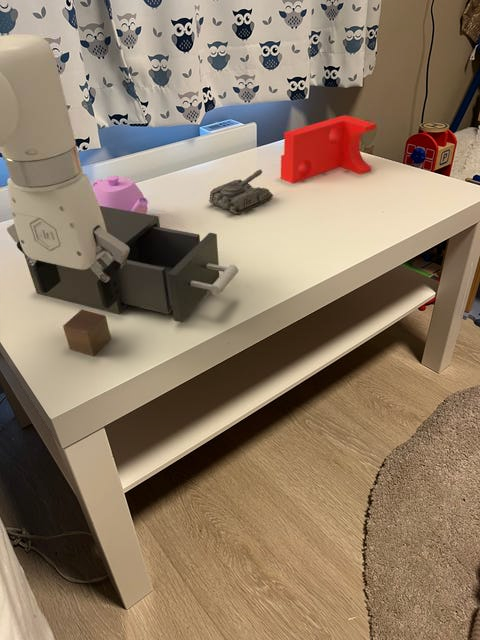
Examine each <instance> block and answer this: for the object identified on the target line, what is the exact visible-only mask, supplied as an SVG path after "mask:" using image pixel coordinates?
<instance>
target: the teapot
mask: <svg viewBox="0 0 480 640" xmlns="http://www.w3.org/2000/svg"><path fill="white" fill-rule="evenodd" d="M92 188H93V191H94V193H95V196H96V198H97V201H98V204H99V206H103V207H109V208H114V209H120V210H126V211H132V212H137V213H143V214H148V210H149V209H148V204H149V201H148V199H147V198H146V197H145V196H144V194H143V192H142V190H141V189H140V188H139V187H138V185H137V184H136V183H135V182H134V181H133V180H132V179H129V178H126V177H122V176H118V175H109V176H107V177H106V179H101V178H98V179H95V180H94V181H93V183H92Z"/></svg>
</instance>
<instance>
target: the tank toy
mask: <svg viewBox="0 0 480 640" xmlns="http://www.w3.org/2000/svg"><path fill="white" fill-rule="evenodd" d="M262 173H263V171H262V169H258V170H256V171H255V172H253V173H252V174H251V175H249V176H248V177H247V178H246V179H244V180H242V179H234V180H232V181H229V182H226V183H224V184H222V185H219V186H217V187H213V189H212V190H211V191H210V192H209V199H208V202H209V204H211V205H213V206H216V207H221V208H222V209H225V210H229V211H230V212H231V213H232V214H234V215H241V214H243V213H244V212H247V211H249V210H251V209H253V208H255V207H257V206H260V205H261V204H264V203H265V202H267V201H270V200H271V199H272V198H273V197H274V194H273V193H272V192H271V191H270V189H268V188H266V187H260V186H259V187H254V186H252V185H251V184H249V183H250V182H253V180H254V179H256V178H259V176H261V175H262Z"/></svg>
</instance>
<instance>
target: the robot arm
mask: <svg viewBox="0 0 480 640" xmlns="http://www.w3.org/2000/svg"><path fill="white" fill-rule="evenodd" d="M0 150H1V155H2V160H3V161H4V163H5V165H6V168H7V173H8V175H9V177H8V179H7V180H6V181H7V194H8V202H9V206H10V211H11V216H12V219H13V222H14V223H13V224H11V225H9V226H8V227H7V228H6V231H7V233H8V234H9V236H10V237H11V238H12V240H13V241H14V243H16V247H17V249H18V250H19V251H20V252H21V253H22V254H23V255H24V257H25V256H26V257H27V259H25V261H26V260H27V262H28V263H29V264H30V265H32V266H33V265H34V267H33V269H34V272H35V275H36V278H37V280H38V283H39V286H40V289H41V292H44V293H47V292H49V291H50V290H51V289H52V288H53V287H55V286H56V285H57V284H58V283H60V281H61V279H60V275H59V272H58V269H57V266H56V265H61V266H65V267H70V268H75V269H81V270H84V269H88V268H89V267H90V268H91V269H92V271H93V272H94V273H95V274H96V275H97V276H98V277H99V278H100V279H99V280H98V281H97V285H98V289H99V293H100V297H101V301H102V304H103V306H104V308H110V307H111V306H112V305H113V304H114V303H115V302H116V301H117V300H118V299H119V298H120V297H121V295H122V293H121V288H120V284H119V279H118V275H117V272H119V271H120V270H121V268H122V267H123V266H124V265H125V264H126V260H127V257H128V254H129V251H130V249H129V247H128V246H127V245H126V244H124V243H123V242H121V241H120V240H118V239H117V238H115V237H114V236H112V235H111V234H109V233H108V232H107V230H106V227H105V223H104V219H103V216H102V213H101V210H100V207H99V204H98V201H97V198H96V196H95V193H94V191H93V185H92V184H91V182H90V179H89V177H88V175H87V174H86V173H84V172H83V171H84V170H83V168H82V162H81V158H80V155H79V151H78V147H77V143H76V138H75V135H74V131H73V125H72V121H71V118H70V114H69V110H68V105H67V101H66V97H65V93H64V89H63V84H62V80H61V76H60V72H59V69H58V65H57V59H56V57H55V53H54V49H53V48H52V46H51V44H50V43H49V41H47V40H46V39H45V38H44V37H42V36H39V35H34V34H29V33H27V34H26V33H25V34H23V33H21V34H18V33H17V34H6V35H0ZM108 251H110V252H111V253H112V255H113V257H112V256H111V255H110V253H109V252H108ZM96 253H97V254H96ZM100 258H101V259H102V260H103V261H104V262H105V263H106V265H107V266H108V267H107V268H106V269H104V268H103V267H102V266H101V265H100V264H99V263H98V261H97V260H98V259H100ZM27 262H26V263H27Z"/></svg>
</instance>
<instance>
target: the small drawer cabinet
mask: <svg viewBox="0 0 480 640" xmlns="http://www.w3.org/2000/svg"><path fill="white" fill-rule="evenodd" d="M99 207H100V210H101V213H102V216H103V219H104V223H105V227H106V230H107V232H108V233H109V234H111V235H112V236H114V237H115V238H117V239H118V240H120V241H121V242H123V243H124V244H126V245H127V246H129V245H130V244H132V243H133V242H134V241H135V240H136V239H138V238H139V237H140V236H141V235H142V234H144V233H145V232H146V231H147V230H149V229H150V228H151V227H152V226H156V227H161V224H160V223H161V222H160V217H159V215H153V214H149V213H146V214H143V213H137V212H132V211H126V210H120V209H114V208H109V207H103V206H99ZM108 252H109V253H110V255H111V256H112V257H113V255H112V253H111V252H110V251H108ZM96 254H97V253H96ZM24 258H25V262H26V264H27V267H28V270H29V274H30V278H31V281H32V283H33V286H34V289H35V292H36V294H40V295H42V296H46V297H50V298H54V299H59V300H61V301H62V300H63V301H66V302H69V303H73V304H78V305H81V306H86V307H90V308H93V309H97V310H101V311H104V312H109V313H112V314H116V315H120V314H121V313H122V312H124V311H125V310H126V309H127V307H129V306H130V305H129V304H125V303H121V302H120V298H119V299H118V300H117V301H116V302H115V303H114V304H113V305H112V306H111V307H110V308H104V306H103V304H102V301H101V297H100V293H99V289H98V285H97V281H98V280H99V279H100V278H99V277H98V276H97V275H96V274H95V273H94V272H93V271H92V269H91V268H90V267H89V268H88V269H84V270H81V269H75V268H70V267H65V266H61V265H56V266H57V269H58V272H59V275H60V279H61V281H60V283H58V284H57V285H56V286H55V287H53V288H52V289H51V290H50V291H49V292H47V293H44V292H41V289H40V286H39V283H38V280H37V278H36V275H35V272H34V269H33V267H34V265H33V266H32V265H30V264H29V263H28V262H27V260H26V259H27V257H26V256H25V255H24ZM97 261H98V263H99V264H100V265H101V266H102V267H103V268H104V269H106V268H107V267H108V266H107V265H106V263H105V262H104V261H103V260H102V259H101V258H100V259H98V260H97Z"/></svg>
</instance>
